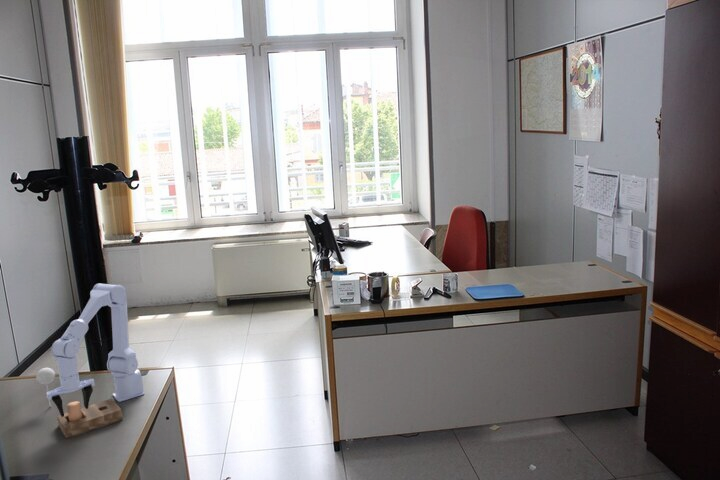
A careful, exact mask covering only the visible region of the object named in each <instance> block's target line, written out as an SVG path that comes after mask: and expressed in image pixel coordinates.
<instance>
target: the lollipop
mask: <svg viewBox="0 0 720 480" xmlns="http://www.w3.org/2000/svg"><path fill="white" fill-rule="evenodd" d="M55 377H56V372H55V371H54V369H53V368H52V367H51V368H50V367H43V368H41V369H39V370H38V371H37V373H36V376H35V378H36V381H37V382H38V383H39V384H42V385H46V392H49V391H50V389H49V384H51V383H52V382H53V381H54V380H55ZM48 404H49V407H50V408H51V407H52V403H51V399H50V400H48Z"/></svg>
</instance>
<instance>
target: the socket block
mask: <svg viewBox="0 0 720 480" xmlns="http://www.w3.org/2000/svg"><path fill="white" fill-rule="evenodd" d="M81 413H82V419H79V420H76V421H73V422H69V416H68V411H67V412H64V417H62V416H61V415H60V414H57V416H56V419H57V424H58V427H59V430H61V432H62V434H63V436H64V437H65V439H66V440H68V439H71V438H74V437H77V436H80V435H82V434H85V433H89V432H92V431H95V430H97V429H102V428H104V427H107V426H110V425H114V424H115V423H116V424H117V423H120V422H122V421H123V420H124V418H123V411H122V408H121V407H120V406H119V405H118V403H116V401H115V400H114V399H113V398H109V399H106V400H102V401H100V402H95V403H93V404H89V406H88V409H86V408H85V407H84V406H83V407H81Z"/></svg>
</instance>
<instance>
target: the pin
mask: <svg viewBox="0 0 720 480" xmlns="http://www.w3.org/2000/svg"><path fill="white" fill-rule="evenodd" d="M66 408H67V412H68V416H69V422H73V421H76V420H79V419H82V413H81V408H82V406H81V402H80V401H78V400H77V401H76V400H75V401H72V402H71V401H70V402H69V403H67V405H66Z"/></svg>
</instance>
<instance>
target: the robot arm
mask: <svg viewBox="0 0 720 480" xmlns="http://www.w3.org/2000/svg"><path fill="white" fill-rule="evenodd" d="M89 295H90V297H89V299H88V301H87V303H86V305H85V307H84V308H83V310H82V312H81V314H80V315H79V317H78V319H74V320H72V321H70V324H69V326H67V328H66V330H65V332H64V333H63V334H62V336H61V337H60V338H58V339H57V340H55V341H54V342H53V343H52V345H51V349H50V354H51V355H52V356H53V357H54V360H55V361H56V364H57V372H58V376H59V382H60V386H58V387H56V388H54V389H52V390H49V392H47V391H46V399H48V401H49V400H50V401H51V400H52V401H53V403H54V404H55V406H56V409H58V412H59V415H61V416H62V417H64V413H65V411H64V408H63V406H64V405H63V399H62V398H61V396H62V395H66V394H70V393H73V392H76V391H78V390H81V393H82V397H83V400H82V401H83V407H85V408H86V409H88V406H89V405H90V404H89V403H90V399H91V396H92V393H93V389H94V388H93V387H94V386H96V384H95V383H96V382H95V380H94V379H93V378H90V379H84V380H80V376H79V368H78V363H77V354H79V349H80V345H81V341H82V340H83V338H84V337H85V336H86V334H87V332H88V331H89V323H90V321H91V320H92V319H93V318H94V317H95V315H96V314H97V313H98V311H99V310H100V309H101V308H102V307H106V306H108V307H110V311H111V328H112V329H111V331H112V350H111V351H109V353H108V354H107V356H108V357H107V362H106V367H107V370H108V371H109V372H110V373H111V375H112V376H113V377H112V378H113V384H114V390H115V391H114V392H113V393H112V396H113V397H114V398H115V400H117V402H119V403H120V402H124V401H127V400H131V399H133V398H137V397H139V396H144V395H145V391H144V386H143V385H144V384H143V377H142V374H141V371H140V369H139V368H138V366H139V362H138V361H139V360H138V359H137V355H136V351H134V350H133V349H132V348H131V347H130V344H129V343H130V341H129V320H128V300H127V290H126V288H125V287H124V286H123V285H122V284H109V283H108V284H107V283H100V282H99V283H96V284H94V286H93V288H92V289H91V290H90V293H89Z"/></svg>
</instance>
